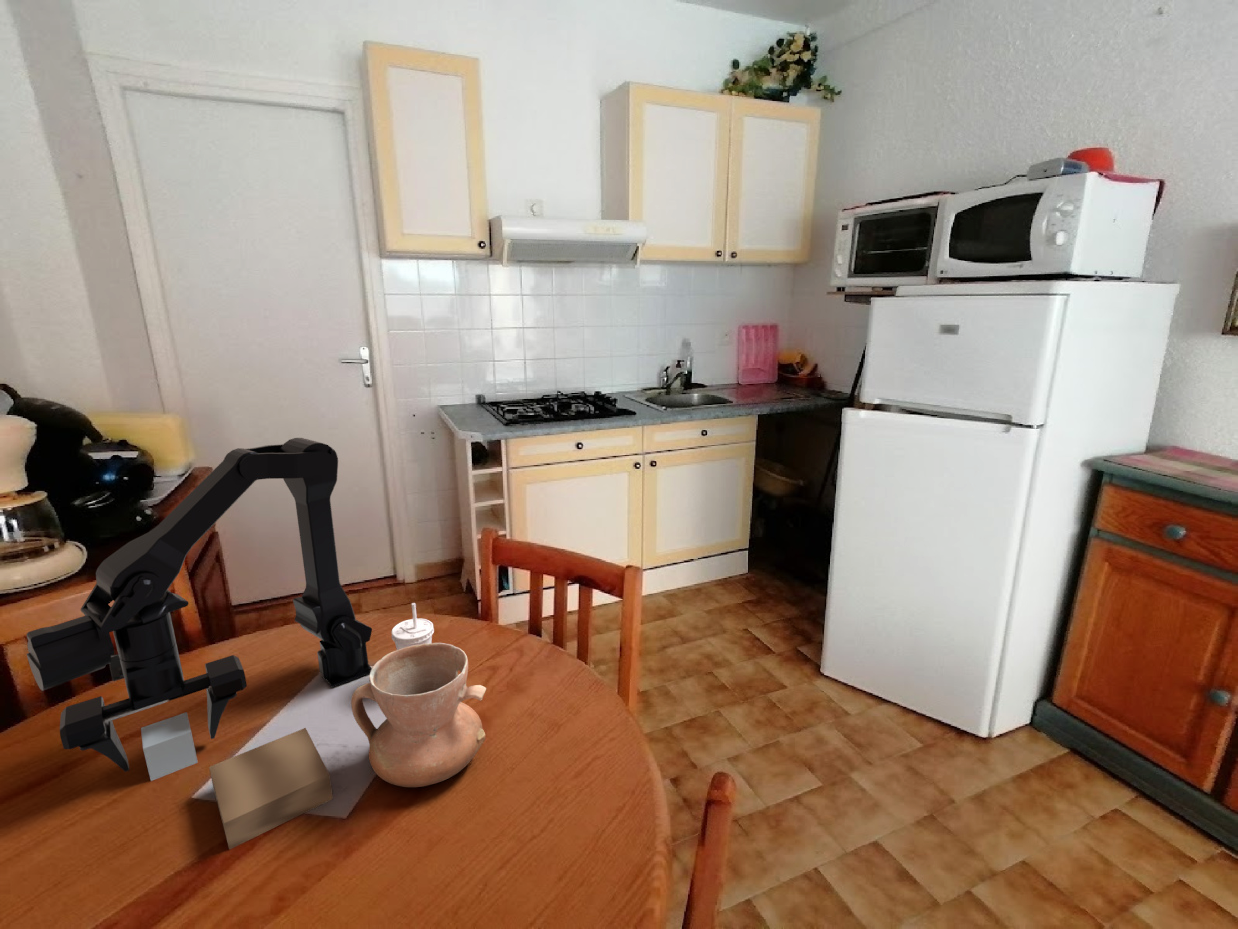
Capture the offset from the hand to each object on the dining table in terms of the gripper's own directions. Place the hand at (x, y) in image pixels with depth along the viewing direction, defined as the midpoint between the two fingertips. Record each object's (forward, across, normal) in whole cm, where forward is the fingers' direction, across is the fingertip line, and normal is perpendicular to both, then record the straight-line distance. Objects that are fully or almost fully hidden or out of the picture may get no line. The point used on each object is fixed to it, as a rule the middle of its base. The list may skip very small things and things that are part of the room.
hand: (171, 752), depth 80 cm
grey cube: (+1, 0, 0) cm, 1 cm away
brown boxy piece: (+2, -9, +15) cm, 18 cm away
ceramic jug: (+2, -26, +21) cm, 33 cm away
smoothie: (+1, -32, +4) cm, 32 cm away
